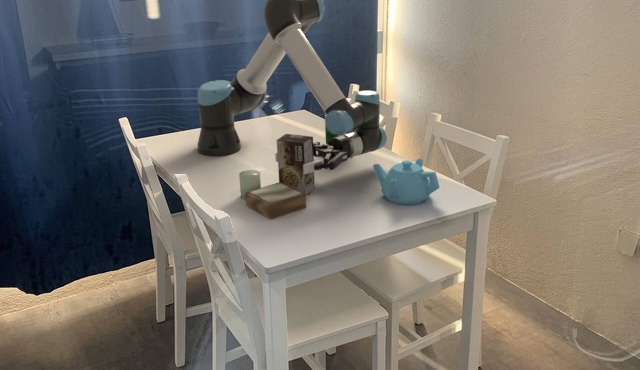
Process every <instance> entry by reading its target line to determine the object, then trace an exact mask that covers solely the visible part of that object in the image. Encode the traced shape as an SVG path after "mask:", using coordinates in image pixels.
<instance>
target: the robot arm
mask: <svg viewBox="0 0 640 370" xmlns="http://www.w3.org/2000/svg"><path fill="white" fill-rule="evenodd" d="M324 5H325V4H324V0H266V1H265V4H264V6H263V7H264V8H263V20H264V23H265V26H266V29H267V31H268V32H267V34H266V36H265V37H264V39H263V41H262V42H261V44H260V45H259V46H258V48H257V50H256V51H255V53H254V55H253V56H252V58H251V59H250V61H249V63H248V64H247V66H246V67H245V68H242V69H239V71H238V72H237V73H236V75H235V76H234V78H233V79H232V81H228V80H224V79H216V80H211V81H207V82H205V83H203V84H201V85H200V86H199V87H198V89H197V103H198V112H199V113H198V114H199V123H200V124H199V125H200V133H199V137H198V141H197V152H198V153H199V154H201V155H204V156H211V157H212V156H213V157H215V156H216V157H218V156H219V157H221V156H226V155H231V154H235V153H237V152H239V151H240V150H241V148H242V145H241V144H242V143H241V139H240V137H239V135H238V132H237V130H236V128H235V119H234V118H235V117H236V116H237V115H241V114H243V113H247V112H249V111H254V110H255V109H257V108H259V107H261V106H262V104H264V103H265V101H266V98H267V93H266V92H267V89H268V85H267V82H268V80H269V79H270V78H271V77H272V74H273V73H274V72H275V70H276V69H277V67H278V66H279V65H280V63H281V61H282V60H283V58H284V57H285V56H286V55H287V57H288V58H289V59H290V61H291V63H292V64H293V66H294V68H296V70H297V72H298V73H299V75H300V76H301V78H302V79H303V81H304V82H305V84H306V85H307V87H308V89H309V90H310V92H311V93H312V94H313V97H314V98H315V99H316V100H317V102H318V104H319V105H320V107H321V108H322V110H323V112H324V114H325V113H326V115H327V116H326V118H325V117H324V124H325V123H326V128H327V130H328V131H329V132H330V133H332V134H334V135H342V134H344V135H342V136H338V137H334V138H332V139H330V141H329V142H328V144H326V143H323V144H321V141H320V142H319V141H316V142H313V154H314V157H315V158H322V159H317V160H314V162H310V163H307V164H304V165H303V174H308V173H311V172H314V173H315V172H317V171H321V170H323V169H324V170H327V169H329V171H333V170H335V169H336V168H337V167H338V166H340V164H342V163H343V162H346V161H348V159H353V158H354V157H358V156H361V155H365V154H367V153H372V152H376V151H377V150H380V149H382V148H384V146H385V145H386V143H387V141H388V139H387V136H388V135H387V134H386V131H385V129H384V128H383V126H380V118H381V117H380V111H381V110H380V109H381V107H380V106H381V103H380V94H379V93H378V92H377V91H374V90H359V91H358V92H356V94H355V99H354V101H353V102H352V103H351V104H349V102H348V101H347V99H346V98H347V97H346V96H345V94H344V93H343V92H342V90H341V89H340V87H339V86H338V84H337V82H336V81H335V80H334V77H332V75H331V73H330V71H329V70H328V69H327V67H326V66H325V64H324V63H323V61H322V60H321V58H320V56H319V55H318V54H317V52H316V51H315V49H314V48H313V46H312V45H311V43H310V42H309V40H308V39H307V37H306V35H305V34H306V33H307V31H308V30H309V29H310V27H311V26H312V25H317V24H318V23H320V22H321V21H322V19H323V17H324V15H325V6H324ZM234 116H235V117H234ZM354 130H355V131H354ZM350 131H352V132H351V133H349V132H350ZM345 133H348V134H345ZM274 161H275V162H276V163H278V154H277V152H274Z"/></svg>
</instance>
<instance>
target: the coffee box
mask: <svg viewBox="0 0 640 370" xmlns="http://www.w3.org/2000/svg"><path fill="white" fill-rule="evenodd" d="M313 143H314V137H313V136H309V135H301V134H294V133H293V134H291V133H286V134H285V133H284V134H283V135H282V136H280V137H279V138H278V139H277V140H276V150H277V154H278V162H277V167H278V182H281V183H283V184H285V185H288V186H290V187H292V188H294V189H296V190H298V191H300V192H302V193H304V194H306V196H307V195H308V194H309V193H310V192H312V191H313V190H314V189H315V171H314V172H311V173H308V174H303V165H304V164H307V163H310V162H314V161H315V160H314V154H313Z"/></svg>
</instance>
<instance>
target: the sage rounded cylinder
mask: <svg viewBox="0 0 640 370" xmlns="http://www.w3.org/2000/svg"><path fill="white" fill-rule="evenodd" d="M238 177H239V189H240V198H241V199H242V200H244V201H246V197H245V193H246V192H249V191H253V190H256V189H259V188H262V183H261V172H260V171H258V170H256V169H247V170H246V169H245V170H242V171H240V172H239V174H238Z"/></svg>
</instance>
